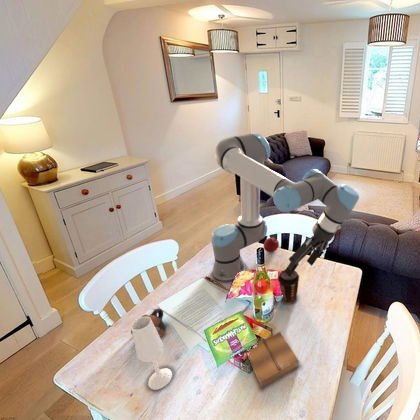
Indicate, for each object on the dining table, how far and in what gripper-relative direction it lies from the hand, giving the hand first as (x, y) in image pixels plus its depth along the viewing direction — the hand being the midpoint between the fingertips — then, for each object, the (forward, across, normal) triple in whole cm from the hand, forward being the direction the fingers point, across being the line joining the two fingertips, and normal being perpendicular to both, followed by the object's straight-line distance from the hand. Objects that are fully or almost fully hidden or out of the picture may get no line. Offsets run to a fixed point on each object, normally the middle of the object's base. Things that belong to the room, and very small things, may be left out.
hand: (299, 268), depth 101 cm
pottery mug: (+42, -35, +21) cm, 59 cm away
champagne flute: (+36, -42, +3) cm, 55 cm away
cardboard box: (+21, -18, -16) cm, 32 cm away
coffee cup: (+21, +7, -1) cm, 23 cm away
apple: (+29, +28, +29) cm, 49 cm away
